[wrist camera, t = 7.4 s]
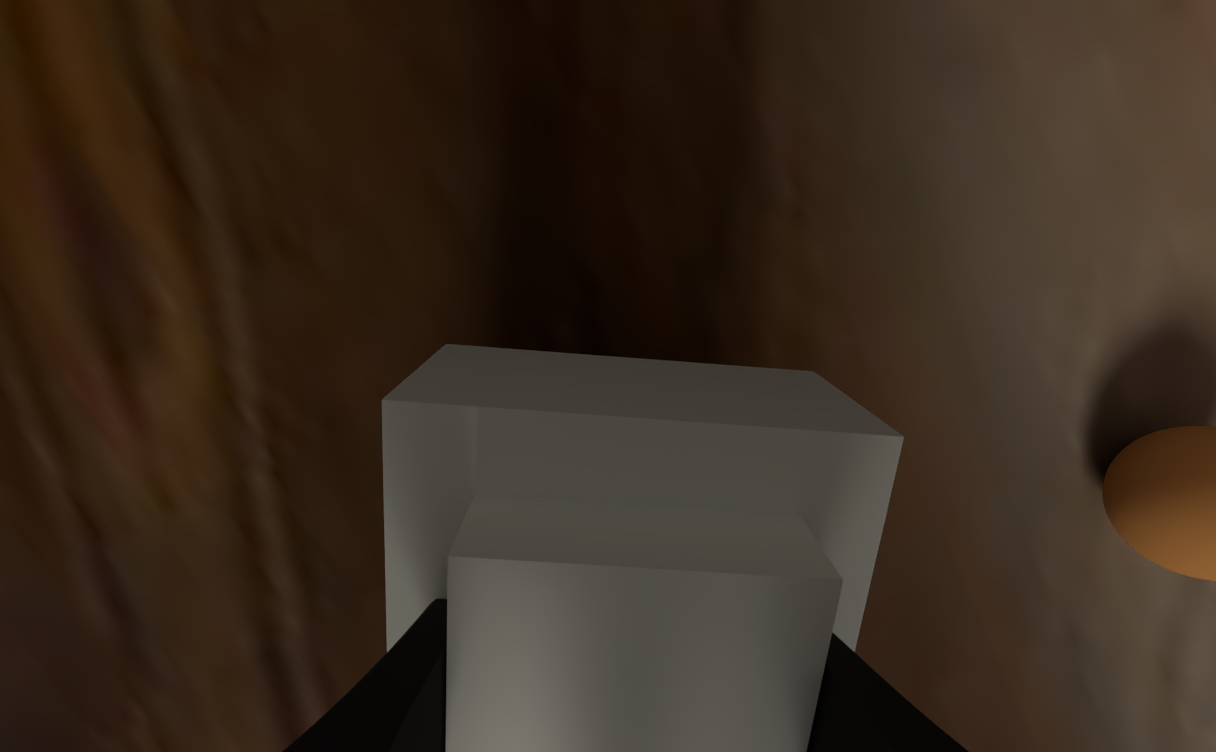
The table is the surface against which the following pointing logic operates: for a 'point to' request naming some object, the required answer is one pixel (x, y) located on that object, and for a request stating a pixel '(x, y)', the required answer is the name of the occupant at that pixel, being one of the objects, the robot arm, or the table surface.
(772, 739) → the white block
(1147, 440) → the ball
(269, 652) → the table surface
